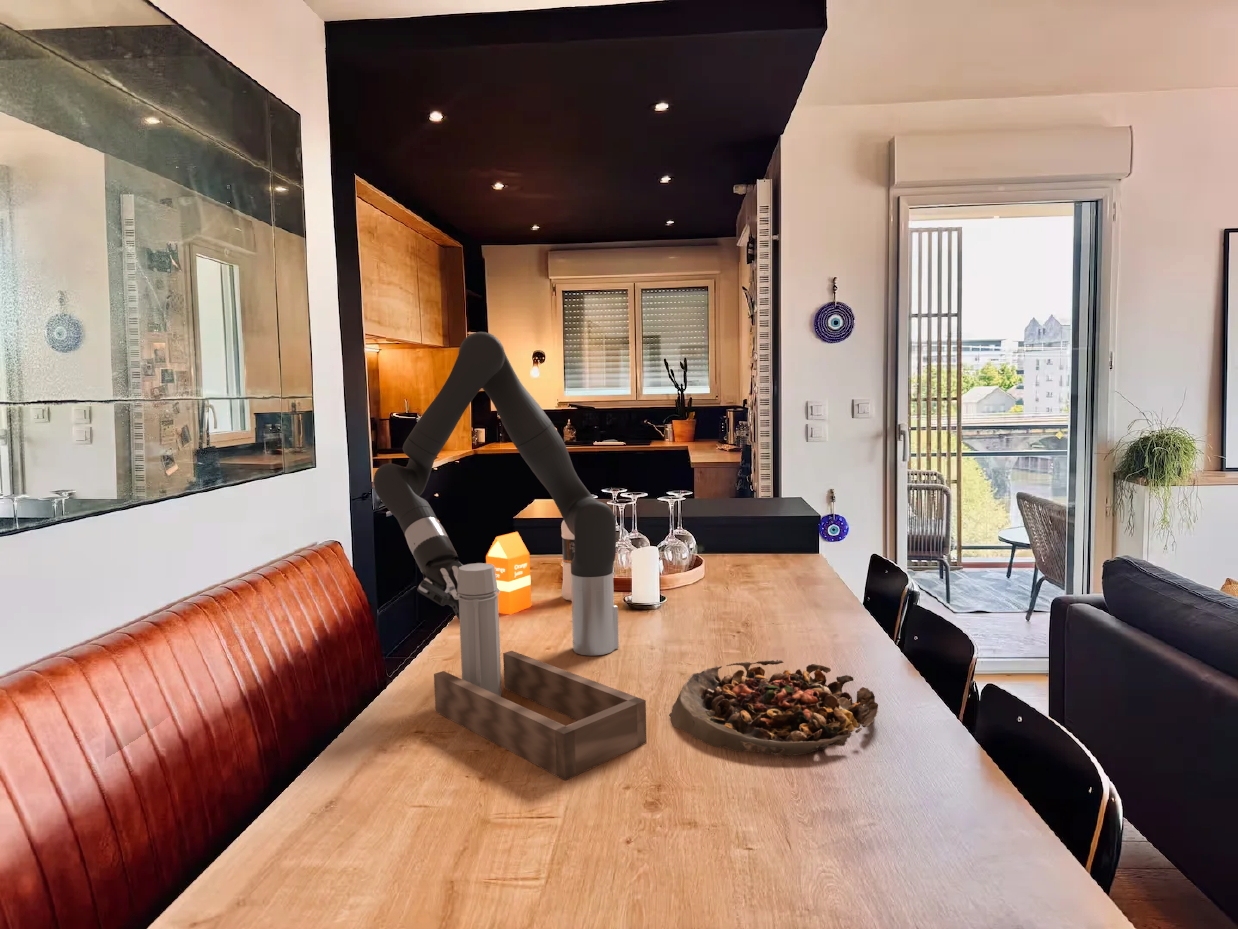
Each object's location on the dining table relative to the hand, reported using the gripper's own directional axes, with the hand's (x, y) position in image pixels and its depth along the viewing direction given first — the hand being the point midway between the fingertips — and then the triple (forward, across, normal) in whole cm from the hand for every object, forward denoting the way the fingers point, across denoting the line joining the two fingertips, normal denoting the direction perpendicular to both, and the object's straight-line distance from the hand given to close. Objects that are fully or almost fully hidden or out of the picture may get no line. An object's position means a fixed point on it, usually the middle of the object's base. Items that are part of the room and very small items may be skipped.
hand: (467, 618), depth 145 cm
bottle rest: (+24, 0, -3) cm, 25 cm away
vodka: (-17, +60, +38) cm, 73 cm away
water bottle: (+13, 0, +8) cm, 15 cm away
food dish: (+43, +31, -21) cm, 57 cm away
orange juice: (-20, +41, +42) cm, 62 cm away
